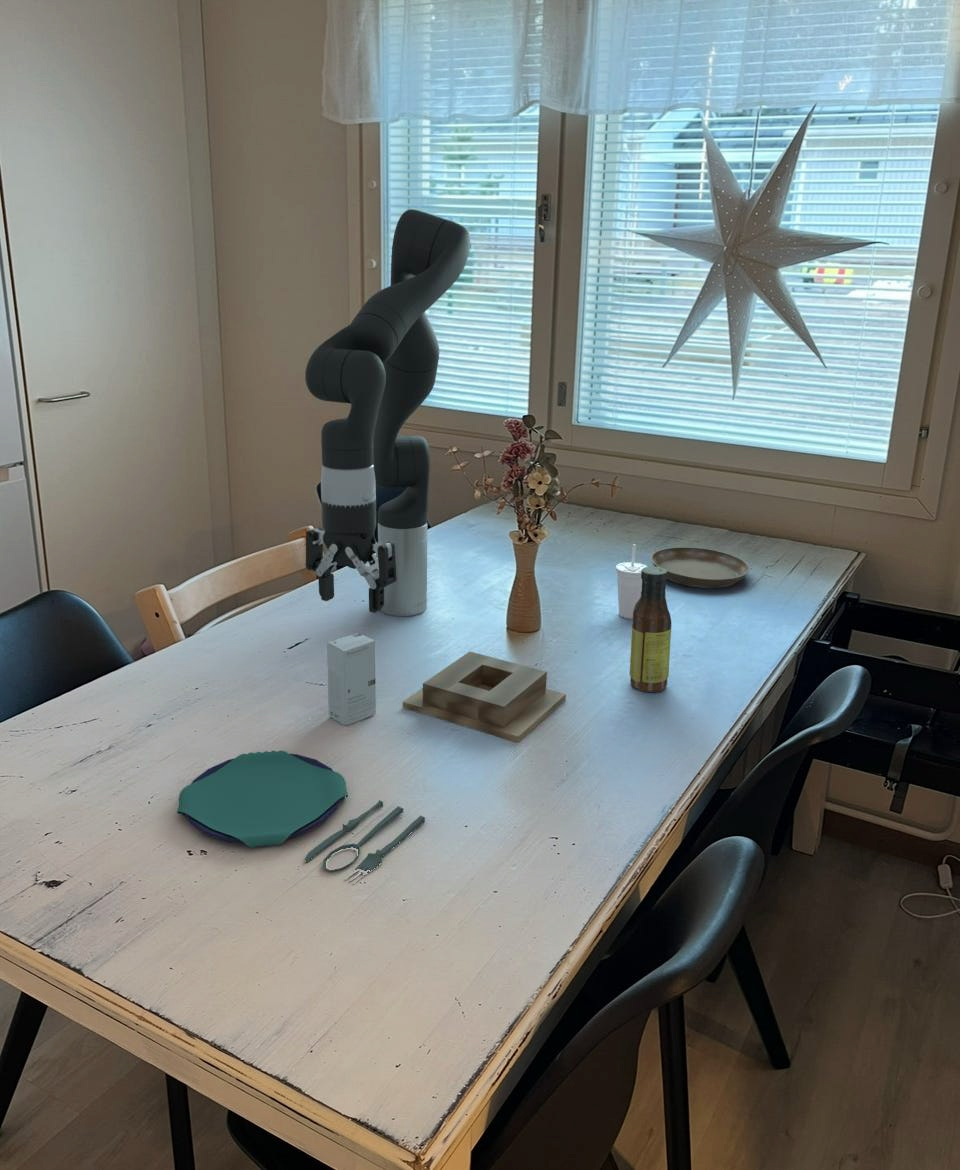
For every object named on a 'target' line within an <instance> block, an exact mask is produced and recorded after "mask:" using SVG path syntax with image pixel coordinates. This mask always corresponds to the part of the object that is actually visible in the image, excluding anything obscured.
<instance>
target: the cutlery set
mask: <svg viewBox="0 0 960 1170" xmlns="http://www.w3.org/2000/svg"><path fill="white" fill-rule="evenodd" d="M344 796H346V798H345V799H347V798H348V797H349V794H348V792H347V782H346V779H345V777H344V776H343V775H342V774H341V773H340V772H337V771H335V770H333V769H332V767H330V766H328V765H326V764H324V763H323V762H321V761H319V760H318V759H315V758H312V757H308V756H304V755H300V754H298V753H289V752H287V751H285V750H278V751H277V750H270V751H267V750H265V751H263V752H261V751H256V752H248V753H242V754H239V755H238V756H236V757H235V758H230V759H227V760H226V761H223V762H220V763H217V764H216V765H213V766H211V767H210V768H208V769H206V770H204V772H203V773H201V774H200V775H199V776H197V777H196V778H195V779H193V780H192V781H191V783H190V784H188V785H186V786H185V787H184V788H182V789H181V790H180V791H179V796H178V808H177V812H176V813H177V814H178V815H182V814H183V813H184V814H185V816H186V818H187V820H188V822H189V824H191V825H192V826H194V827H195V828H196V829H198V830H199V831H200V832H202V833H203V834H204V835H206V836H209V837H213V838H216V839H218V840H219V839H220V840H222V841H226V842H234V843H235V842H236V843H244V844H245V845H247V847H249V848H253V849H254V848H256V846H257V847H265V846H269V847H270V846H274V844H275V846H280V845H282V844H283V843H284V842H285V841H286V840H287V839H288V838H292V837H295V836H298V835H302V834H305V833H306V832H308V831H310V830H312V829H313V828H315V827H317V826H319V825H321V824H323V823H324V822H325V821H326V820H327V819H328V818H329V817H331V815H332V814H334V812H335V811H336V810H337V809H338V807H339V804H340V801H341V800H342V798H344ZM379 807H384V801H382V800H380V799H379V800H378V802H377V803H376V804H374V805H372V807H371V808H369V809H368V810H367V811H364V813H362V814H360V815H359V816H358V817H356V818H353V819H349V820H348V823H347V824H344V823H343V824H342V829H340V830H338V831H336V832H335V833H333V834H332V835H330V836H328V837H327V838H326V839H324V840H323V841H322V842H320V843H319V844H318V845H317V846H315V847H313V849H312V850H310V851H309V852H308V853H307V854H306V856H305V858H304V859H305V861H306V862H307V861H308V860H310V859H311V858H313V857H314V856H315V855H317V854H318V853H319V852H320V853H322V852H323V851H324V850H326V849H327V848H328V847H329V845H330V844H331V845H332V844H333V843H335V842H336V841H337V840H339V839H340V838H341V837H343V836H344V835H345V834H347V832H350V833H351V831H352V829H355V827H356V826H357V827H358V825H359V824H360V823H361V822H360V821H361V820H364V819H365V818H366V817H367V816H368V815H370V813H372V812H373V811H375V810H376V809H379ZM181 812H182V814H181ZM403 813H404V808H403V807H400V806H399V805H398V806H396V807H395V808H394V809H393V810H392V811H390V813H388V814H387V815H386V816H384V818H382V820H380V821H379V822H378V823H377V824H376V825H375V826H374V827H373V828H372V829H371V830H370V831H369V832H367V834H366V835H364V836H363V838H361V839H360V840H359V842H357V843H349V844H343V845H341V846H340V845H339V847H337V848H335V849H333V850H331V851H330V852H329V853H328V854H327V855H326V857H325V858H324V859H323V861H322V866H321V868H322V869H323V870H325V871H329V872H333V870H334V871H338V869H339V870H343V868H344V869H345V868H347V867H349V866H350V864H351V865H352V863H353V862H354V863H355V861H356V860H357V859H358V857H359V855H360V854H361V853H360V852H361V851H360V850H361V847H362V845H364V844H365V843H366V842H367V841H368V840H369V839H371V838H372V837H373V836H374V835H376V833H378V832H379V831H380V830H381V829H382V828H384V827H385V826H386V825H388V824H389V823H390V822H392V821H393V820H394V819H396V818H398V817H399V816H400V815H401V814H403ZM424 822H426V817H425V816H423V815H419V816H418V817H417V818H416V819H415V820H414V821H412V822H411V823H410V824H409V825H408V826H407V827H406V828H405V829H404V830H403V831H402V832H401V833H399V835H398V836H396V838H394V839H393V840H392V841H391V842H389V843H388V844H387V845H385V846H383V847H382V848H381V849H378V848H377V849H376V850H375V853H373V852H372V853H368V854H367V855H366V857H365V858H364V859H363V860H362V861H361V862H360V863H359V864H358V865H357V867H355V869H354V870H357V869H361V870H364V871H367V870H370V871H371V870H373V869H374V868H376V867H377V866H379V864H380V863H382V864H383V859H381V858H382V857H383V858H384V856H385V855H387V854H388V853H389V852H391V851H392V850H393V849H392V848H393V847H395V846H396V845H397V844H399V842H401V841H402V840H403V839H405V837H407V836H408V835H409V834H410V833H411V832H412V833H413V832H414V830H415V829H416V830H417V829H418V828H419V827H421V826H422V825H423V824H424ZM422 823H423V824H422ZM421 824H422V825H421ZM420 825H421V826H420ZM357 827H356V828H357ZM416 830H415V831H416ZM412 833H411V834H412ZM343 834H344V835H343ZM411 834H410V835H411ZM342 835H343V836H342ZM410 835H409V836H410ZM409 836H408V837H409ZM408 837H407V838H408ZM338 838H339V839H338ZM405 840H406V839H405ZM334 841H335V842H334ZM403 841H404V840H403ZM403 841H402V842H403ZM364 842H365V843H364ZM402 842H401V843H402ZM363 843H364V844H363ZM331 845H330V846H331ZM399 845H400V844H399ZM397 846H398V845H397ZM397 846H396V847H397ZM326 847H327V848H326ZM351 847H353V848H356V849H358V856H357V855H356V857H355V858H354V859H353V861H352V862H350V863H348V864H346V865H345V866H342V867H340V868H335V869H333V870H329V869H327V868H326V861H327V859H329V858H330V857H331V855H332V854H333V853H335V852H337V851H339V850H341V849H346V848H351ZM396 847H395V848H396ZM325 848H326V849H325ZM323 849H324V850H323ZM391 849H392V850H391ZM322 850H323V851H322ZM390 850H391V851H390ZM321 851H322V852H321ZM387 852H388V853H387ZM320 853H319V854H320ZM386 853H387V854H386ZM319 854H318V855H319ZM318 855H317V856H318ZM383 855H384V856H383ZM315 857H316V856H315ZM315 857H314V858H315ZM314 858H313V859H314ZM356 858H357V859H356ZM311 860H312V859H311ZM311 860H310V861H311ZM306 862H305V863H306ZM307 863H308V862H307ZM354 863H353V864H354ZM348 865H349V866H348ZM346 866H347V867H346ZM379 867H380V866H379ZM376 869H377V868H376ZM374 870H375V869H374ZM374 870H373V871H374ZM361 873H362V872H361ZM367 873H369V871H368V872H367ZM362 874H363V873H362ZM369 874H370V873H369Z"/></svg>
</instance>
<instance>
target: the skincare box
mask: <svg viewBox="0 0 960 1170" xmlns="http://www.w3.org/2000/svg"><path fill="white" fill-rule="evenodd" d="M326 657H327V660H326V662H327V693H328V697H327V698H328V716H329V718H331V719H332V720H334V719H335V720H334V721H336V722H337V721H338V723H339V722H340V723H339V724H341V725H343V726H348V725H351V724H354V723H356V722H359V721H362V720H365V719H367V718H370V717H372V716H374V715H376V713H377V701H376V700H377V699H376V698H377V696H376V695H377V694H376V692H377V689H376V688H377V687H376V640H374V639H373V638H371V637H368V636H366V635H364V634H361V633H360V632H359V633H358V632H357V633H355V634H352V635H348V636H343V637H339V638H338V639H334V640H332V641H327V642H326Z"/></svg>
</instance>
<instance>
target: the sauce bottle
mask: <svg viewBox="0 0 960 1170" xmlns="http://www.w3.org/2000/svg"><path fill="white" fill-rule="evenodd" d="M641 578H642V591H641V597H640V599H639V600H638V602H637V603H636V605H635V607H634V610H633V619H632V623H631V637H630V638H631V640H630V641H631V642H630V657H629V658H630V659H629V662H630V663H629V676H630V685H631V686H632V687H633V688H634V689H637V690H639V691H641V692H648V693H654V692H655V693H656V692H661V691H663V690H664V689H666V688H667V686H668V679H669V675H670V674H669V672H670V654H671V641H672V640H671V638H672V618H671V613H670V611H669V607H668V603H667V598H666V587H667V586H666V585H667V582H666V581H667V580H668V579H667V570H666V569H664V568H661V567H655V566H648V567H645V568H643V569H642V571H641Z"/></svg>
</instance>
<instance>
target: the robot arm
mask: <svg viewBox="0 0 960 1170" xmlns="http://www.w3.org/2000/svg"><path fill="white" fill-rule="evenodd" d="M391 245H392V246H391V257H390V261H391V262H390V286H387V287H384V288H383V289H381V290H379V291H376V292H375V293H374V294H373V295H372V296H371V297H369V298H368V300H367V301H366V302H365V303H364V304H363V305H362V307H361V308H360V310H359V311H358V312H357V314H356V315H355V316H354V318H353V320H352V321H351V322H350V324H348V325H347V326H345V327H343V328H342V329H341V330H339V331H337V332H336V333H334V334H333V335H332V336H331V337H329V338H328V339H326V340H324V341H323V342H322V343H321V344H319V346H318V347H317V348H316V349H315V350H314V351H313V353H312V354H311V355H310V358H309V359H308V362H307V364H306V368H305V377H304V379H305V385H306V387H307V389H308V391H309V392H310V394H311V396H313V397H315V398H316V399H318V400H320V401H324V402H331V403H342V404H350V410H349V413H348V415H347V417H345V418H338V419H332V420H330V421H327V422H325V423H324V424H323V426H322V428H321V432H320V433H321V434H320V439H321V440H320V441H321V442H320V443H321V475H320V497H321V499H320V500H321V501H320V502H321V525H322V527H320V526H318V527H314V528H312V529H309V530H308V531H306V532H305V568H306V570H308V571H313V572H315V574H316V576H317V577H318V579H317V580H318V595H319V596H320V598H321V599H320V600H321V601H324V602H328V601H331V600H333V599H334V597H335V578H334V577H335V575H334V573H332V571H333V570H334V569H335V567H336V566H339V567H344V566H346V567H348V568H350V569H353V570H356V571H357V572H358V574H359V575H360V576H361V577H363V578H364V579H365V581H366V582H367V584H368V586H369V587H368V612H370V613H373V614H375V613H377V612H380V611H381V612H382V613H383V614H386V615H389V616H396V617H409V616H410V617H411V616H416V615H419V614H421V613H424V612H425V611H426V610H427V606H428V605H427V603H428V601H427V600H428V593H427V592H428V514H429V499H430V498H429V494H430V493H429V492H430V490H429V489H430V478H431V451H430V446H429V443H428V442H427V440H426V438H424V437H423V436H421V435H407V436H406V435H403V436H398V435H399V433H400V430H401V428H402V427H403V425H404V424H405V422H407V420H408V419H409V418H410V417H411V416H412V415H413V414H414V413H415V411H416V410H418V408H420V406H421V405H422V404H423V403H424V401H425V400H426V399H427V398H428V397H429V395H430V393H432V390H433V388H434V387H435V386H434V385H435V383H436V378H437V371H438V367H439V366H438V365H439V359H440V347H439V342H438V339H437V336H436V333H435V331H434V329H433V326H432V324H431V321H430V320H429V317H428V315H427V314H426V313H427V310H429V308H430V307H432V306H433V305H434V304H435V303H436V302H437V301H438V300H439V299H440V298H441V297H442V296H443V295H444V294H445V293H446V292H447V291H448V290H449V289H450V288H451V287H452V286H453V285H454V284H455V283H456V281H458V279H459V278H460V276H461V275H462V273H463V271H464V269H465V266H466V264H467V261H468V258H469V254H470V248H471V235H470V231H469V230H468V228H467V227H465V226H463V225H462V224H460V223H458V222H456V221H453V220H449V219H447V218H443V217H441V216H438V215H435V214H431V213H428V212H425V211H421V210H420V209H419V210H417V209H411V208H410V209H407V210H405V211H404V212H403V213H402V214H401V215H400V216H399V219H398V221H397V223H396V226H395V230H394V233H393V239H392V244H391ZM376 487H377V488H382V489H394V488H395V489H396V488H405V490H404V491H403V492H402V493H401V494H399V495H398V496H397V497H394V498H393V499H391V500H388V501H387V502H385V503H383V504H381V505H380V506H379V508H378V510H377V496H376V495H377V490H376V489H377V488H376ZM376 528H377V539H376V537H375V531H376ZM377 541H378V542H377ZM324 546H325V547H326V548H327V551H326V552H325V554H324ZM367 563H368V564H369V566H366V564H367Z"/></svg>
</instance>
